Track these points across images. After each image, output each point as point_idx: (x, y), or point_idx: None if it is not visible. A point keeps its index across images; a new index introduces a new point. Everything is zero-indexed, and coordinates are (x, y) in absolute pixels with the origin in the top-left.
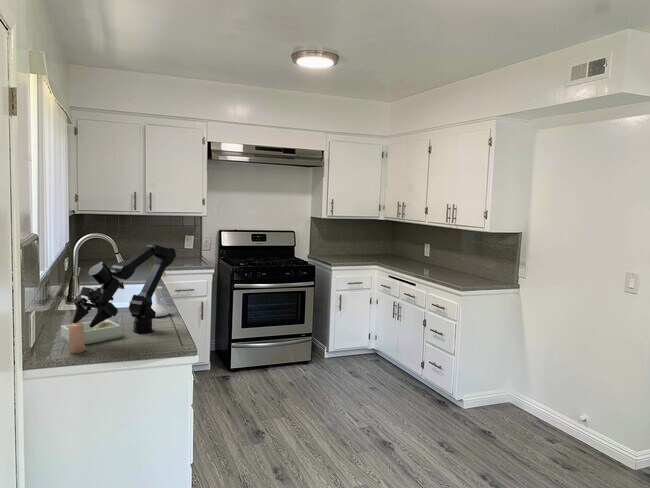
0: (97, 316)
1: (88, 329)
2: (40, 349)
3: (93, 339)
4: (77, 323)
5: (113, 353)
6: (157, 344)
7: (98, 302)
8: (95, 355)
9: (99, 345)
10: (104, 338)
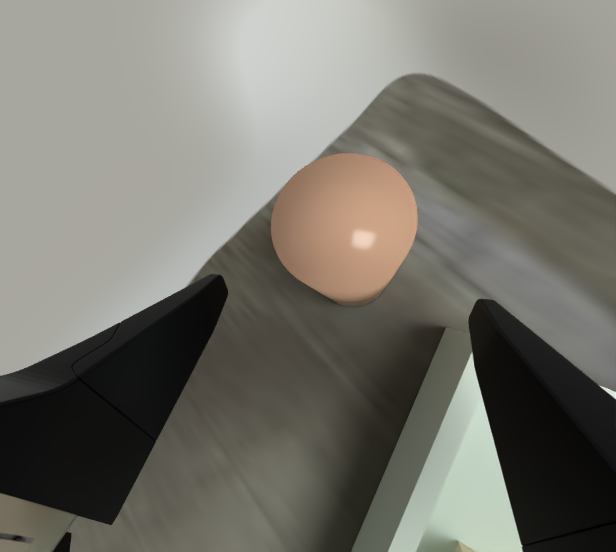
0: (87, 340)
1: None
2: (569, 202)
3: (405, 441)
4: (361, 260)
5: None
6: None
7: None
8: (238, 268)
9: (332, 399)
10: (377, 501)
